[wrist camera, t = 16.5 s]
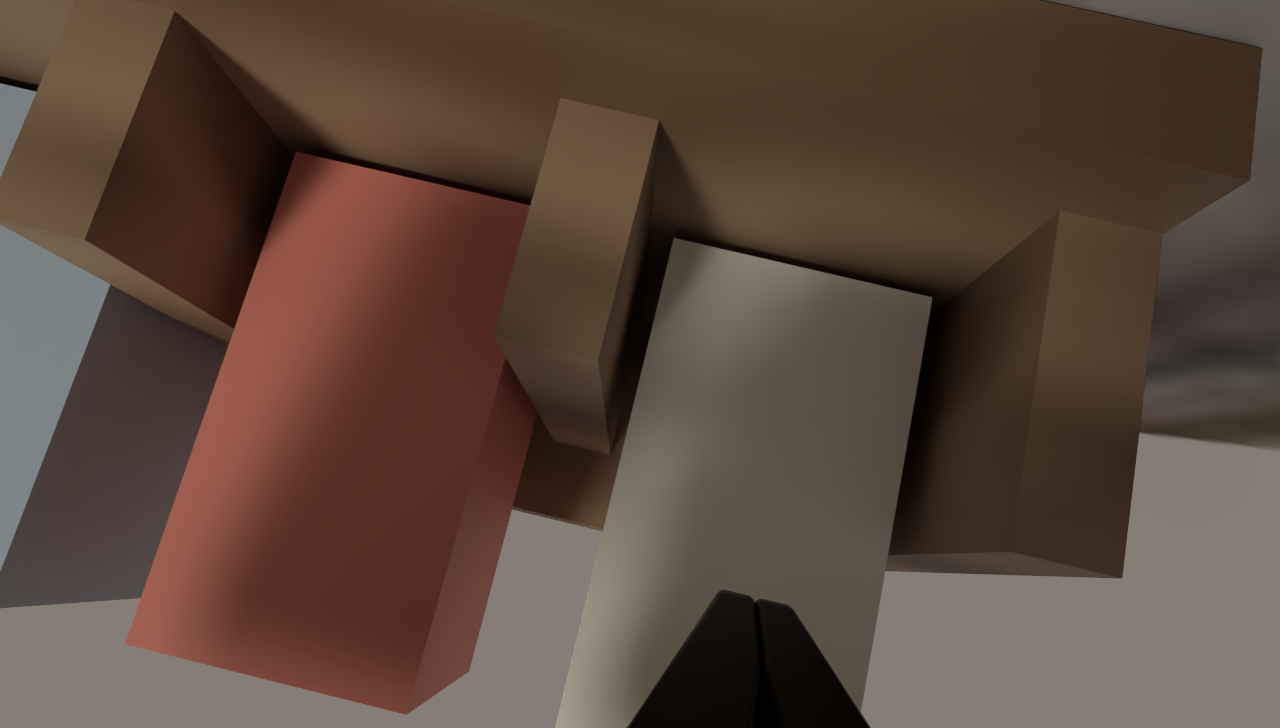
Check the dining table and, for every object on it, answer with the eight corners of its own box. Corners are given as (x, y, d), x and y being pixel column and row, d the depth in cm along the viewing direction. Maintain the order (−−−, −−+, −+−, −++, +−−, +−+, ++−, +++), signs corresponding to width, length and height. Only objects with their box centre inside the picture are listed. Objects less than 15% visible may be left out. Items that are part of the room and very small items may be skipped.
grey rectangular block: (-72, 67, 14) (-287, 540, 13) (173, 122, 14) (-15, 608, 12) (107, 194, 19) (-31, 546, 17) (289, 236, 19) (166, 595, 17)
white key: (674, 237, 14) (549, 750, 12) (932, 297, 14) (841, 824, 12) (660, 323, 19) (571, 697, 17) (850, 367, 18) (779, 748, 17)
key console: (-468, -328, 10) (-774, 160, 9) (1263, 48, 9) (1206, 637, 8) (134, 162, 22) (43, 395, 21) (900, 340, 22) (855, 592, 20)
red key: (296, 151, 14) (124, 643, 12) (546, 209, 14) (406, 714, 12) (381, 258, 19) (266, 620, 17) (566, 301, 19) (469, 670, 17)
